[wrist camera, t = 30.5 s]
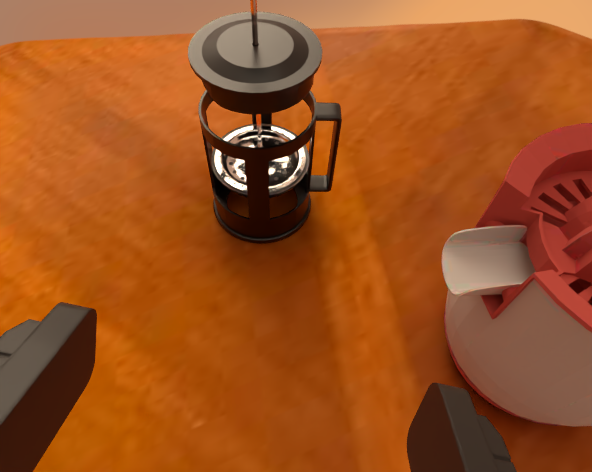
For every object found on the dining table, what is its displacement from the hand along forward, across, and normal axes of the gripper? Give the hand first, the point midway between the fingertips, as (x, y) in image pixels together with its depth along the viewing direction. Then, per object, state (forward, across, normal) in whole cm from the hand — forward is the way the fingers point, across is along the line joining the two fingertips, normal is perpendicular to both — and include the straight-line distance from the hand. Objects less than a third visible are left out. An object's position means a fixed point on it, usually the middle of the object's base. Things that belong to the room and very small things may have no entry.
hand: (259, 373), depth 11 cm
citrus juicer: (+22, -20, +13) cm, 33 cm away
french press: (+33, +1, +10) cm, 35 cm away
